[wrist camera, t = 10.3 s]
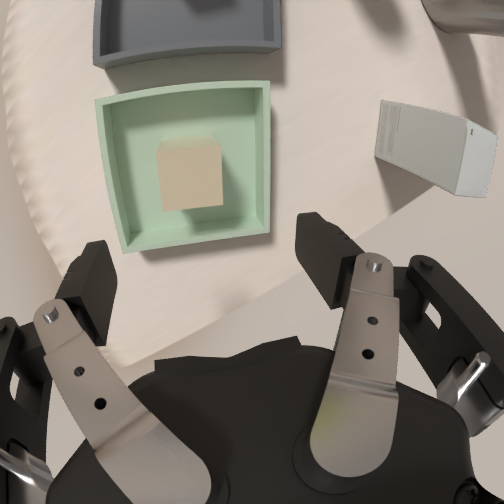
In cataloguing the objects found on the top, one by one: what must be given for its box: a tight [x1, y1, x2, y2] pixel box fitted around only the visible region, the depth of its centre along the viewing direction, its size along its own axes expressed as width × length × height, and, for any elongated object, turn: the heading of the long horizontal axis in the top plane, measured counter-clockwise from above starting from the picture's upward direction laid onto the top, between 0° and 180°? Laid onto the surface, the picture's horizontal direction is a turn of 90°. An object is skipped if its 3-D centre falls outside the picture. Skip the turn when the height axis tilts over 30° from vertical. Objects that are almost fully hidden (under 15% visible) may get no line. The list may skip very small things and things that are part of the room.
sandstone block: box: [156, 135, 223, 212], centre depth 21 cm, size 4×4×6 cm
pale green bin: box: [95, 80, 270, 254], centre depth 23 cm, size 14×14×4 cm
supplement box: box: [375, 100, 498, 198], centre depth 23 cm, size 7×7×13 cm
